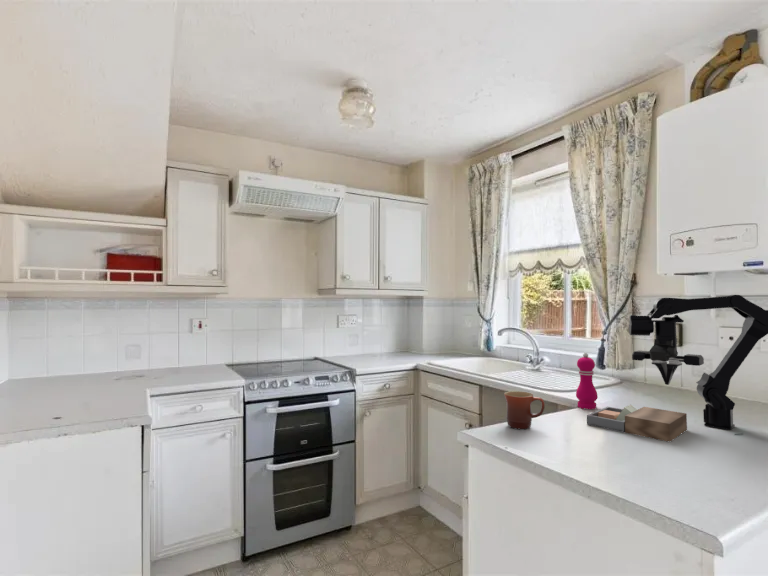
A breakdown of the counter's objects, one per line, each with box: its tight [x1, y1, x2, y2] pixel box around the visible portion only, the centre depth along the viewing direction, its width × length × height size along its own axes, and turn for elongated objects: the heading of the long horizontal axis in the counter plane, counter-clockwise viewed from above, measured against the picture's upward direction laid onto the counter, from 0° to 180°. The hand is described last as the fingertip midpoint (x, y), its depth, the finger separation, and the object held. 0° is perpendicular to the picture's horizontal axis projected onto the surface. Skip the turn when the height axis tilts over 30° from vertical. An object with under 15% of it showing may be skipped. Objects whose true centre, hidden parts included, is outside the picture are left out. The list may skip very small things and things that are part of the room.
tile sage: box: [616, 404, 638, 421], centre depth 134 cm, size 5×5×2 cm
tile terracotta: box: [598, 410, 620, 420], centre depth 138 cm, size 5×5×2 cm
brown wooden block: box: [624, 406, 688, 443], centre depth 128 cm, size 12×16×5 cm
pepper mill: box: [575, 352, 598, 410], centre depth 158 cm, size 7×7×20 cm
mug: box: [503, 390, 546, 430], centre depth 134 cm, size 12×9×10 cm
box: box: [586, 406, 625, 433], centre depth 137 cm, size 11×16×3 cm
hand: (667, 384), depth 138 cm, fingers closed
